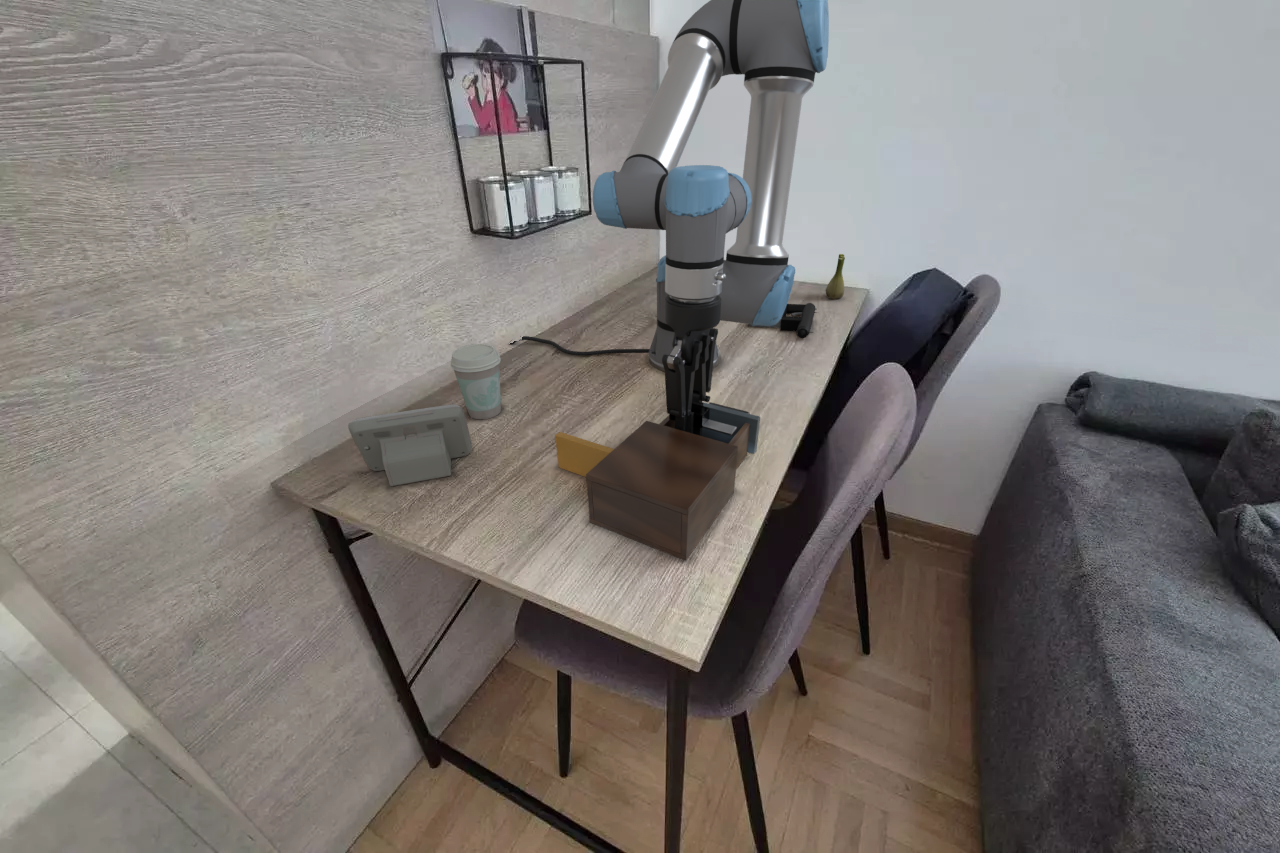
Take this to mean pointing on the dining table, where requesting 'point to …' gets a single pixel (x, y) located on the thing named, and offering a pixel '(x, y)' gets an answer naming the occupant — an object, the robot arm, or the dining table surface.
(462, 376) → the coffee cup
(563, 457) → the upright yellow panel
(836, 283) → the green gourd
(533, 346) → the dining table surface
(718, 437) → the drawer
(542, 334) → the dining table surface
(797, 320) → the door handle
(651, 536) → the cabinet
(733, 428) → the black rectangular block
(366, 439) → the digital clock
